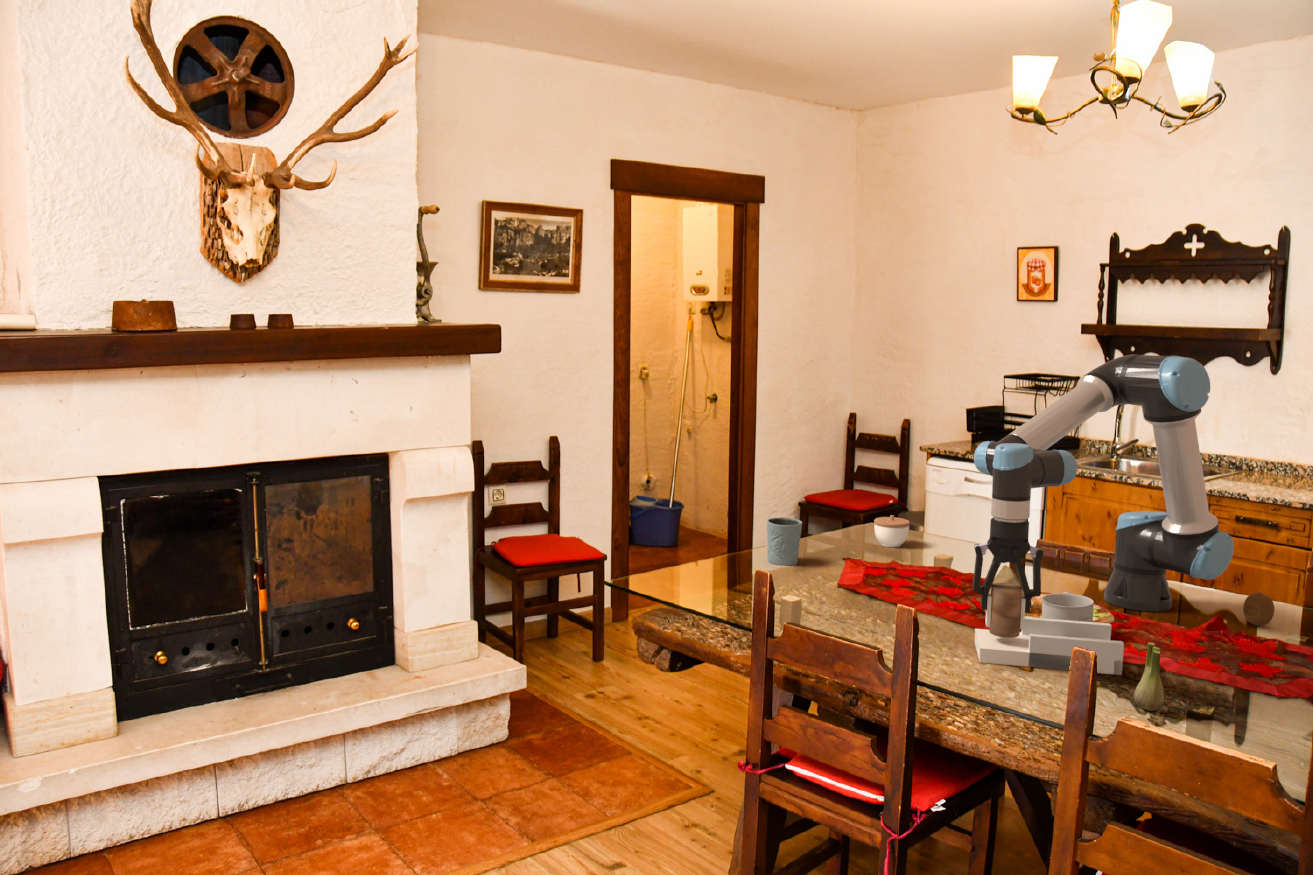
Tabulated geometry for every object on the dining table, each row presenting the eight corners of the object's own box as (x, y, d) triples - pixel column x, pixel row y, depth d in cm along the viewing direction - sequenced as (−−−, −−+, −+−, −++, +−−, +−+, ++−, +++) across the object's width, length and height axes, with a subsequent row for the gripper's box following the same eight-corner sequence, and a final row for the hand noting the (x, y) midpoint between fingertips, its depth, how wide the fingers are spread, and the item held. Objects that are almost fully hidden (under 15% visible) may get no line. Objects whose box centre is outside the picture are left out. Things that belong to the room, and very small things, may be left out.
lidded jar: (874, 548, 296) (875, 518, 295) (872, 540, 307) (873, 511, 306) (910, 550, 295) (911, 519, 294) (907, 541, 305) (908, 512, 304)
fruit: (1235, 623, 227) (1238, 590, 226) (1253, 620, 230) (1256, 587, 229) (1260, 631, 222) (1264, 597, 221) (1279, 628, 224) (1282, 594, 223)
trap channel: (1107, 653, 206) (1109, 623, 205) (1121, 675, 194) (1124, 643, 193) (974, 641, 212) (976, 612, 211) (979, 662, 200) (981, 631, 199)
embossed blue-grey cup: (776, 555, 286) (777, 515, 284) (807, 561, 280) (808, 520, 278) (759, 562, 278) (760, 521, 276) (790, 568, 272) (791, 526, 270)
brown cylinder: (1019, 629, 206) (1021, 584, 205) (1019, 639, 200) (1022, 592, 199) (989, 626, 208) (991, 581, 207) (989, 635, 202) (991, 589, 201)
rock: (1045, 603, 234) (1021, 586, 243) (1030, 578, 231) (1006, 562, 240) (1010, 630, 233) (987, 612, 243) (994, 605, 230) (972, 588, 240)
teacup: (1087, 644, 212) (1090, 608, 211) (1035, 635, 217) (1037, 600, 216) (1097, 627, 223) (1099, 593, 222) (1047, 618, 229) (1049, 585, 228)
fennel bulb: (1157, 716, 174) (1163, 652, 172) (1128, 709, 177) (1133, 645, 175) (1166, 707, 178) (1172, 644, 176) (1138, 699, 181) (1143, 637, 180)
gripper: (1055, 516, 203) (1049, 623, 206) (960, 512, 207) (956, 617, 210) (1061, 524, 195) (1055, 635, 198) (963, 519, 200) (958, 628, 203)
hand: (1004, 625), depth 204 cm, fingers closed on brown cylinder, 6 cm apart
